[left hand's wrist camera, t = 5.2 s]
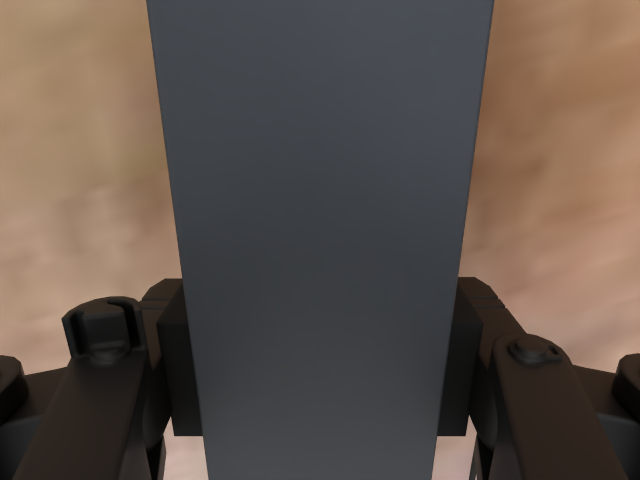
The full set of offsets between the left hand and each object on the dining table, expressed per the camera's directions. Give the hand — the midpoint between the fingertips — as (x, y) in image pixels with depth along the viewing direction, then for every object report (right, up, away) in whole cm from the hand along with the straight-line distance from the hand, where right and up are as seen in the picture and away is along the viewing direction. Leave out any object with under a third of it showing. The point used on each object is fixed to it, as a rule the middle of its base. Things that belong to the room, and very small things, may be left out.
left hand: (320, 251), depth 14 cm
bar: (0, +33, -12) cm, 35 cm away
